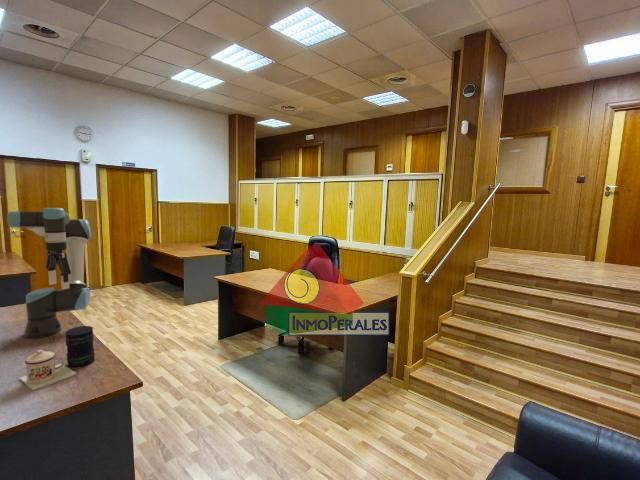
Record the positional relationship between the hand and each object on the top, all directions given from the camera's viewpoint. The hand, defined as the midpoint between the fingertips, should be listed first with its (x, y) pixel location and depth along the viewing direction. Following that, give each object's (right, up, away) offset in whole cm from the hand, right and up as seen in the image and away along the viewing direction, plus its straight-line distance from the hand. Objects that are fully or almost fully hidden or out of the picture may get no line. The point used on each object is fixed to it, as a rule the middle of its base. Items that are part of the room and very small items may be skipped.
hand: (59, 286), depth 153 cm
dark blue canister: (+17, -33, -9) cm, 38 cm away
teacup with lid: (+13, -33, -22) cm, 42 cm away
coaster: (+12, -34, -21) cm, 41 cm away
